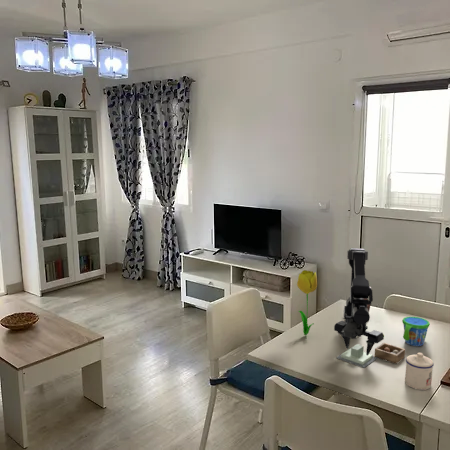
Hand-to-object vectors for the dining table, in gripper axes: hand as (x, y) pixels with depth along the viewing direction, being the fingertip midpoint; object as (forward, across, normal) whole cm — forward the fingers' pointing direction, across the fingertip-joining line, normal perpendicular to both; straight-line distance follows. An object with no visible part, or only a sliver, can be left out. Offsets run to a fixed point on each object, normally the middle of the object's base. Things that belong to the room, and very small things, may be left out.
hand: (357, 351), depth 184 cm
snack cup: (+3, +11, +30) cm, 32 cm away
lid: (+2, 0, 0) cm, 2 cm away
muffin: (+3, -22, +43) cm, 48 cm away
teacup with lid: (+3, +25, -2) cm, 25 cm away
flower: (+3, -27, +4) cm, 27 cm away
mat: (+3, 0, 0) cm, 3 cm away
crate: (+3, +9, +10) cm, 14 cm away
